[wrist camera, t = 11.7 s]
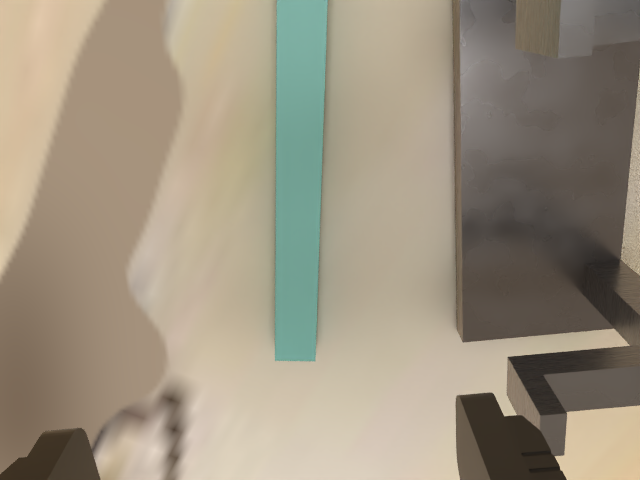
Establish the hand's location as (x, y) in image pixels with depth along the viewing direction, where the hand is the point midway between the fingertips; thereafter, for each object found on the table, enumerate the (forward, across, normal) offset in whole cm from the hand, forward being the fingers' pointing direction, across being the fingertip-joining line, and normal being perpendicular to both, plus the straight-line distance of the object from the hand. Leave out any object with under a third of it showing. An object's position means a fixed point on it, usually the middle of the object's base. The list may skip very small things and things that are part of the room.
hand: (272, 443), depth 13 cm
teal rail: (+22, 0, 0) cm, 22 cm away
